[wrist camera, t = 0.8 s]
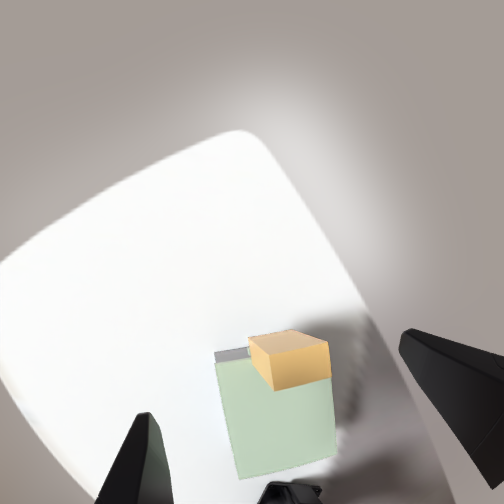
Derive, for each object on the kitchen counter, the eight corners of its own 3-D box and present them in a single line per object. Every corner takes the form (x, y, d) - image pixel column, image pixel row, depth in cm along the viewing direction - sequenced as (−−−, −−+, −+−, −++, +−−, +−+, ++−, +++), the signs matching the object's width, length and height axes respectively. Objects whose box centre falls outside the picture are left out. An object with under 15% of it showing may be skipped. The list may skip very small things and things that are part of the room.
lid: (330, 447, 22) (374, 490, 14) (236, 470, 20) (253, 528, 12) (316, 320, 23) (369, 330, 15) (210, 340, 21) (216, 364, 14)
